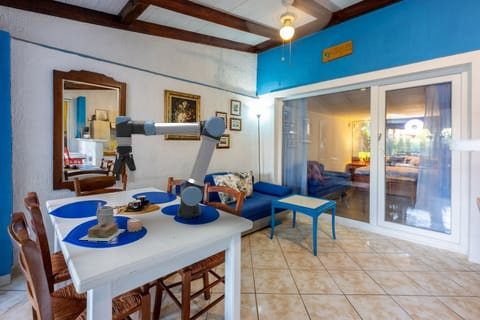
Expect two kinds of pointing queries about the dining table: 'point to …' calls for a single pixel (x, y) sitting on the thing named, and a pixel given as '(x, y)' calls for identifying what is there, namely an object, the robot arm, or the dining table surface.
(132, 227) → the bowl
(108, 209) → the mug
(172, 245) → the dining table surface
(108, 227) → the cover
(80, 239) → the mat
